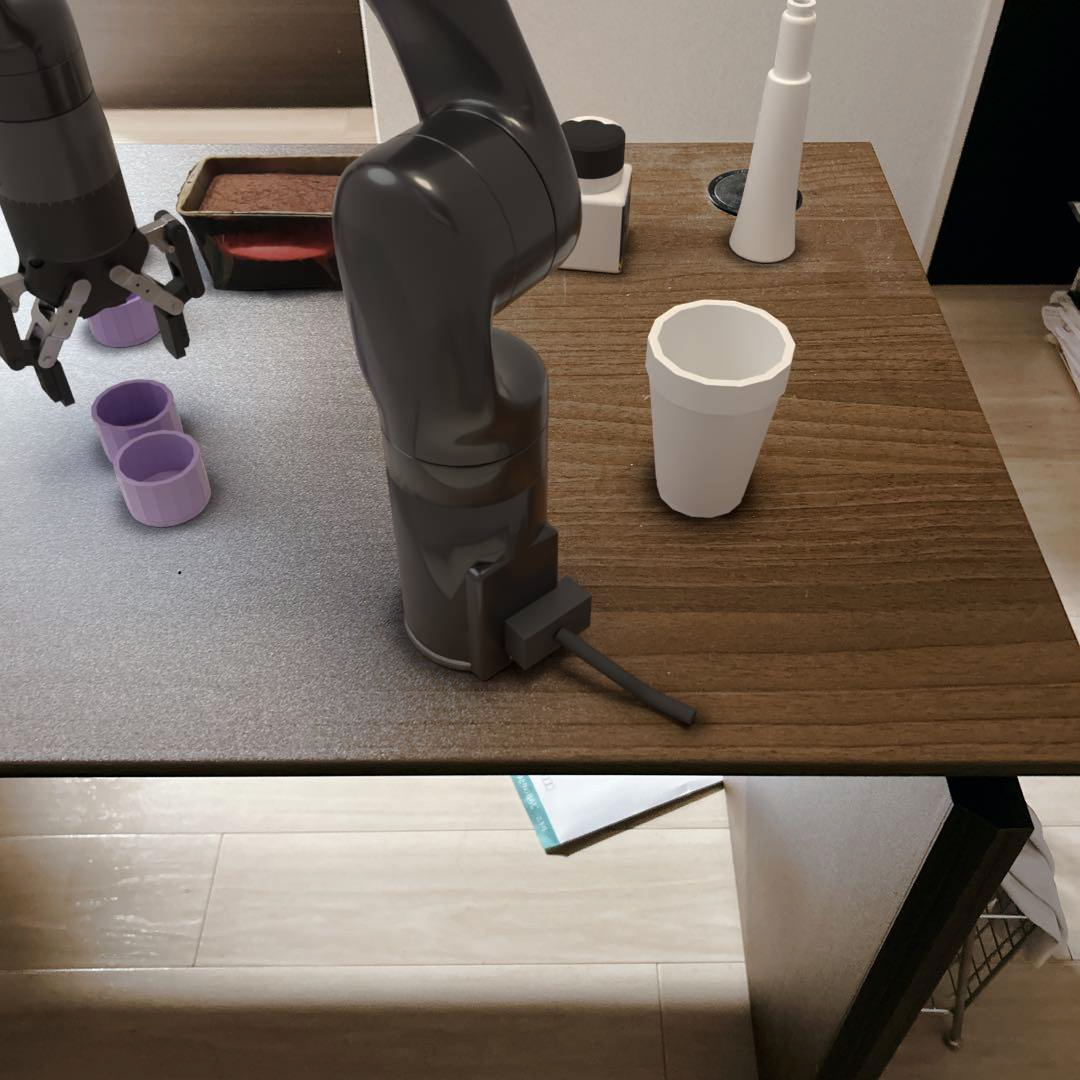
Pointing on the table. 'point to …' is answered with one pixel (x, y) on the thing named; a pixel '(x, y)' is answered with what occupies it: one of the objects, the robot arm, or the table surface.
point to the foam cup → (713, 399)
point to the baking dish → (264, 219)
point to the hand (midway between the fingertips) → (122, 375)
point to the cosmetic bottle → (778, 145)
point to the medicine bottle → (600, 193)
